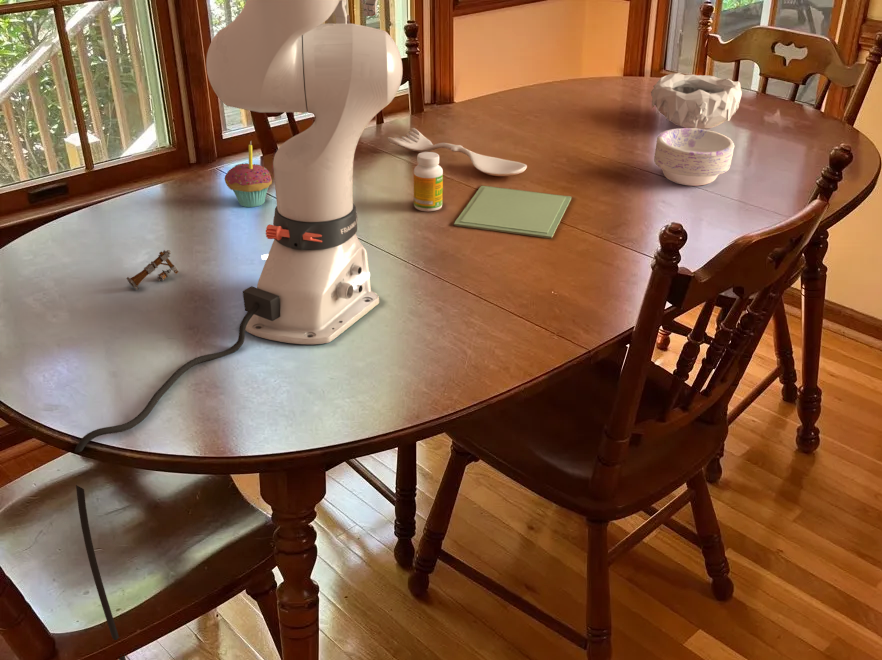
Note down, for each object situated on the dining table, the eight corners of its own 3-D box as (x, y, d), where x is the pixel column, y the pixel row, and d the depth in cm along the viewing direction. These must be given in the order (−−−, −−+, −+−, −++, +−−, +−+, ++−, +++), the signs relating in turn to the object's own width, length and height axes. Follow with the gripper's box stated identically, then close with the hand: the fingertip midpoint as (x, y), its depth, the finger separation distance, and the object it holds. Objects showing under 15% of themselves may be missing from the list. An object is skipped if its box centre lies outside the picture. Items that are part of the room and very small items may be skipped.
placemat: (551, 238, 162) (551, 235, 162) (453, 225, 166) (453, 222, 165) (571, 198, 177) (571, 195, 177) (481, 187, 181) (481, 184, 181)
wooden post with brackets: (184, 269, 147) (170, 248, 143) (146, 301, 145) (130, 280, 141) (179, 266, 148) (164, 245, 144) (140, 297, 146) (124, 276, 142)
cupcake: (283, 202, 173) (277, 138, 165) (246, 215, 167) (239, 149, 160) (255, 190, 177) (248, 127, 170) (218, 202, 172) (209, 137, 165)
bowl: (746, 141, 208) (755, 95, 202) (655, 138, 208) (662, 92, 202) (725, 113, 224) (733, 70, 218) (641, 111, 224) (647, 68, 218)
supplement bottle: (439, 213, 170) (439, 161, 164) (410, 210, 171) (410, 158, 165) (444, 202, 174) (446, 151, 168) (417, 200, 175) (417, 149, 169)
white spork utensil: (412, 141, 203) (412, 125, 200) (534, 174, 187) (535, 157, 185) (386, 151, 197) (386, 135, 195) (509, 187, 182) (510, 169, 179)
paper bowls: (696, 197, 179) (704, 157, 174) (636, 175, 188) (641, 136, 183) (742, 180, 187) (750, 141, 182) (681, 160, 196) (688, 122, 191)
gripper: (338, -62, 137) (343, 37, 146) (399, -80, 152) (400, 11, 161) (302, -66, 139) (308, 32, 148) (365, -83, 154) (368, 7, 163)
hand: (356, 21), depth 154 cm, fingers open, 8 cm apart
